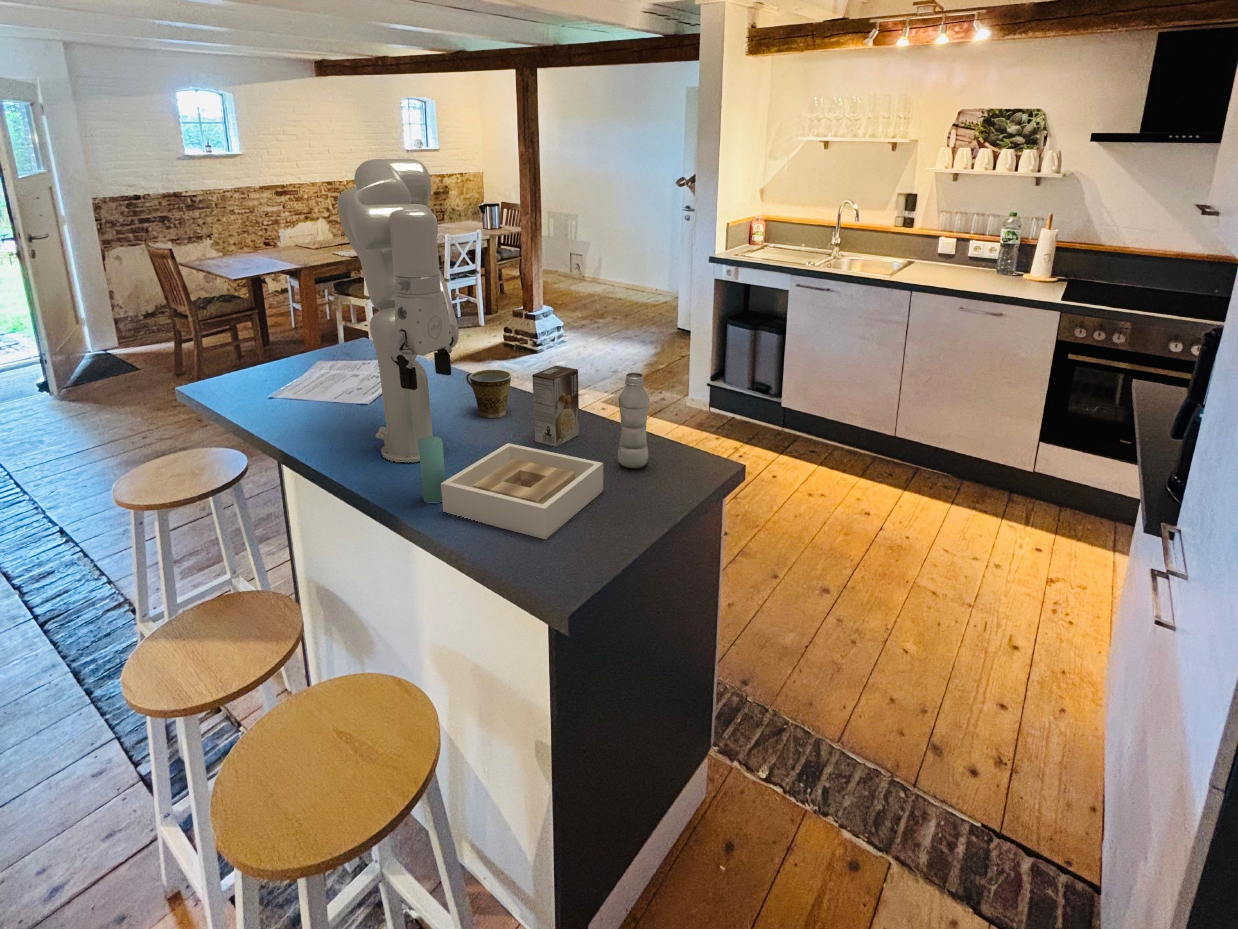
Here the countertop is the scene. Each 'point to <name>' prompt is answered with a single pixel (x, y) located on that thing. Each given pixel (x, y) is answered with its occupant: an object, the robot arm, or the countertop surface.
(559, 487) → the bore plate
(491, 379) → the ceramic cup
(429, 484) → the peg
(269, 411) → the countertop surface
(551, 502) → the open box
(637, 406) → the plastic bottle
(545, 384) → the coffee box
